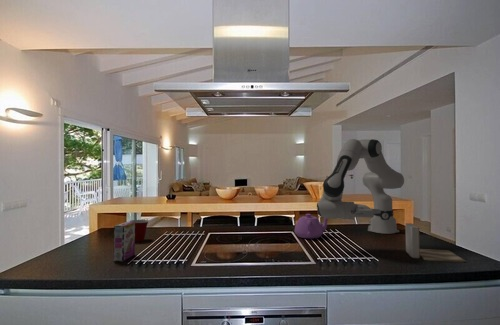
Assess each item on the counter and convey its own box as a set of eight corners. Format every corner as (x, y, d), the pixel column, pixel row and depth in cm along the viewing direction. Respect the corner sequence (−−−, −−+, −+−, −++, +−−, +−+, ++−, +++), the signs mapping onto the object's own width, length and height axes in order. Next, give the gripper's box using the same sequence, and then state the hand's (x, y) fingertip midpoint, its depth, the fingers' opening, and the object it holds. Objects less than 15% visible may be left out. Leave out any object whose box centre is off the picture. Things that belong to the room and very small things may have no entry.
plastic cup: (152, 240, 170) (152, 219, 170) (135, 243, 161) (135, 222, 162) (142, 237, 176) (142, 218, 177) (126, 241, 168) (125, 220, 168)
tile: (405, 251, 142) (405, 223, 142) (412, 251, 141) (412, 223, 141) (412, 257, 132) (412, 227, 132) (419, 258, 131) (419, 227, 132)
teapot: (333, 241, 162) (332, 217, 162) (294, 240, 165) (294, 216, 165) (328, 233, 183) (328, 211, 184) (294, 232, 187) (294, 211, 187)
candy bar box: (123, 262, 130) (123, 226, 130) (113, 261, 130) (113, 225, 131) (135, 254, 141) (135, 221, 141) (125, 254, 142) (125, 221, 142)
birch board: (412, 250, 144) (412, 248, 144) (448, 251, 140) (448, 250, 140) (424, 260, 128) (424, 258, 128) (465, 262, 125) (465, 260, 125)
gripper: (352, 206, 133) (384, 207, 130) (347, 202, 153) (375, 202, 150) (353, 220, 133) (385, 221, 130) (348, 213, 153) (375, 214, 150)
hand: (379, 211), depth 140 cm, fingers closed
